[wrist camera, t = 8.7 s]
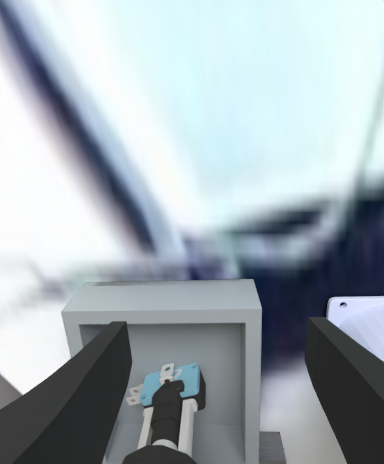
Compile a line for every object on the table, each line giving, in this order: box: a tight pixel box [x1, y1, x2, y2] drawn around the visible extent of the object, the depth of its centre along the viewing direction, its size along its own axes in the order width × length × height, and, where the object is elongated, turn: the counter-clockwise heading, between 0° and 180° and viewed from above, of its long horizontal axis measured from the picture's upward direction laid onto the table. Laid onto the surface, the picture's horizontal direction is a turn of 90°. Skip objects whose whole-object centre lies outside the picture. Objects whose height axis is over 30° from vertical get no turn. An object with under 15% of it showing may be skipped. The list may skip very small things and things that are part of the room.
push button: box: [122, 363, 206, 464], centre depth 20 cm, size 7×5×10 cm
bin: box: [61, 279, 262, 464], centre depth 23 cm, size 13×15×4 cm
